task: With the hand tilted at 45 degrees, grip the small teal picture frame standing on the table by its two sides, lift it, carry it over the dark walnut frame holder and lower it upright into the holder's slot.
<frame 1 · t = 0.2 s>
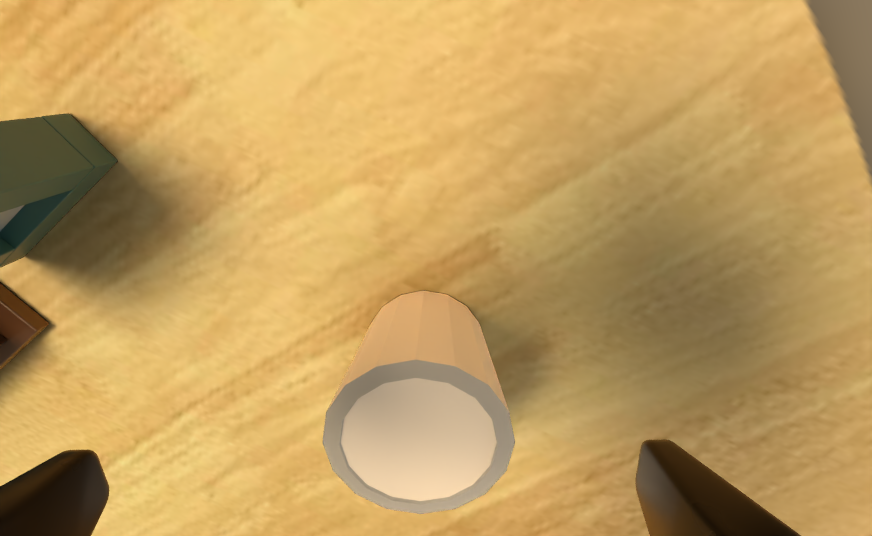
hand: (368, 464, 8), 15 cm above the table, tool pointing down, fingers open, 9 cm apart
beige cup: (425, 341, 24), on the table
picture frame: (45, 189, 21), on the table
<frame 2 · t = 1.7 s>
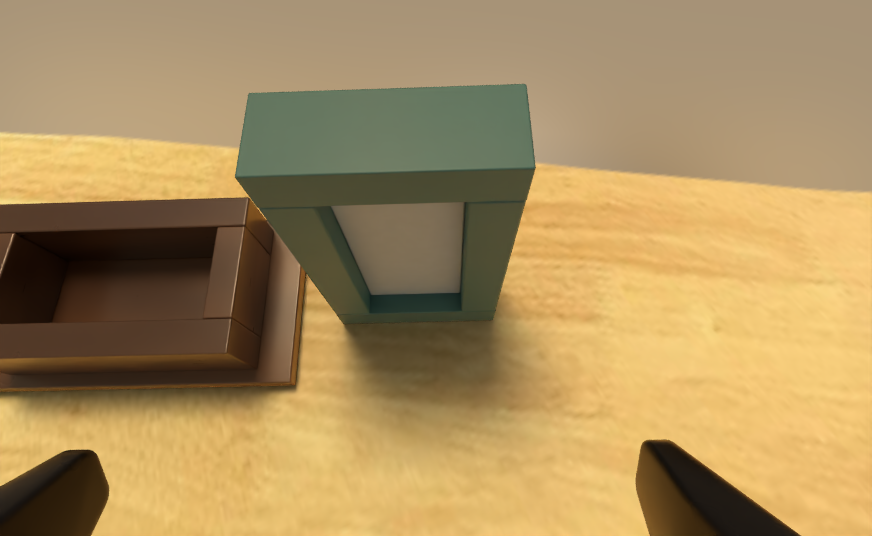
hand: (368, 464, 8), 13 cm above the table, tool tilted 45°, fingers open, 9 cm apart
frame holder: (158, 304, 24), on the table
picture frame: (417, 296, 23), on the table
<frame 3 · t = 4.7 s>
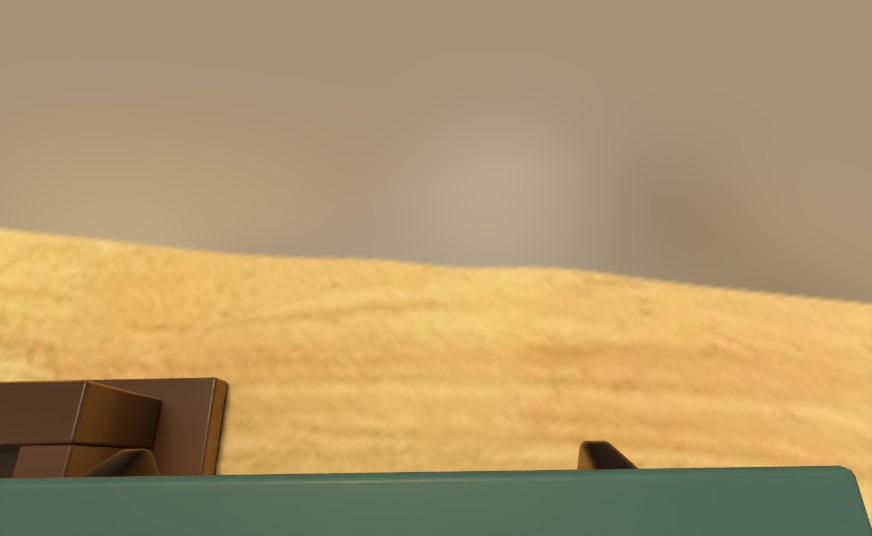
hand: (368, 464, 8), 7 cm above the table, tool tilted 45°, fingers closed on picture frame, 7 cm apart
picture frame: (401, 521, 14), on the table, touching gripper
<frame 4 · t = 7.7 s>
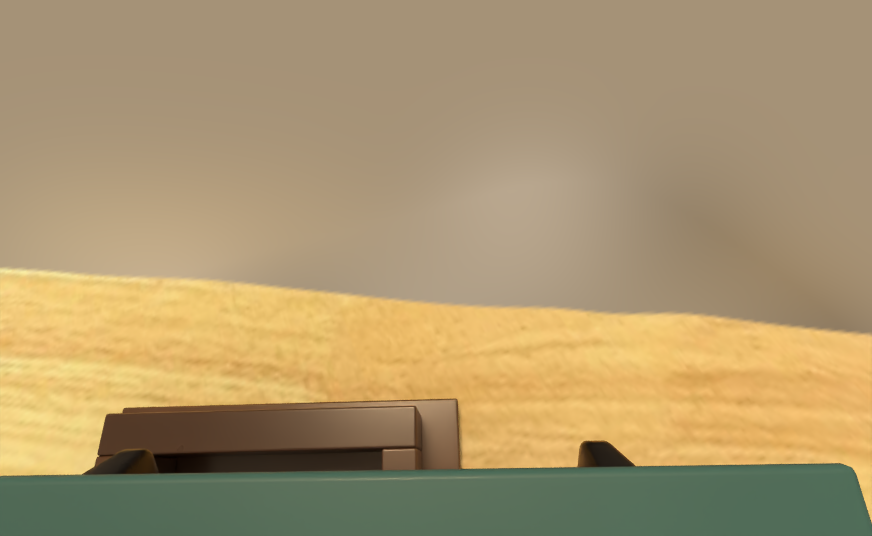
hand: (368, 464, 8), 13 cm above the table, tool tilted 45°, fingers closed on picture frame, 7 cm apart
frame holder: (286, 508, 20), on the table
picture frame: (402, 520, 14), point 6 cm above the table, touching gripper
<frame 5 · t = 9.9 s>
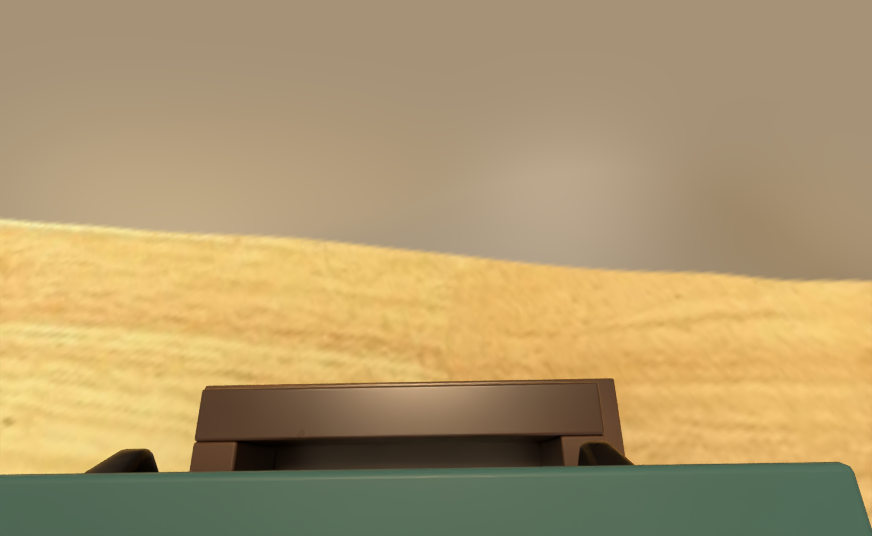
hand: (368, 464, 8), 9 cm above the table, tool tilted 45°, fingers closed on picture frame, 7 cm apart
frame holder: (408, 510, 16), on the table
picture frame: (401, 520, 14), point 2 cm above the table, touching gripper
when the fingers open (7 cm above the table, at t = 11.1 s): picture frame stays where it is, resting on frame holder.
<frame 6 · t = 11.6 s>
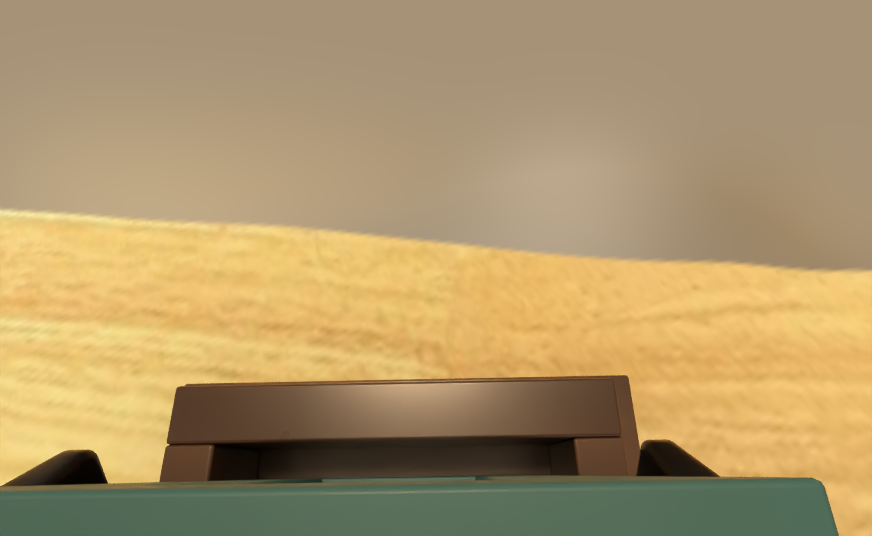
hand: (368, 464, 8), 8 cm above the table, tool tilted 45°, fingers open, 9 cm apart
frame holder: (405, 519, 15), on the table
picture frame: (403, 525, 14), point 1 cm above the table, touching frame holder
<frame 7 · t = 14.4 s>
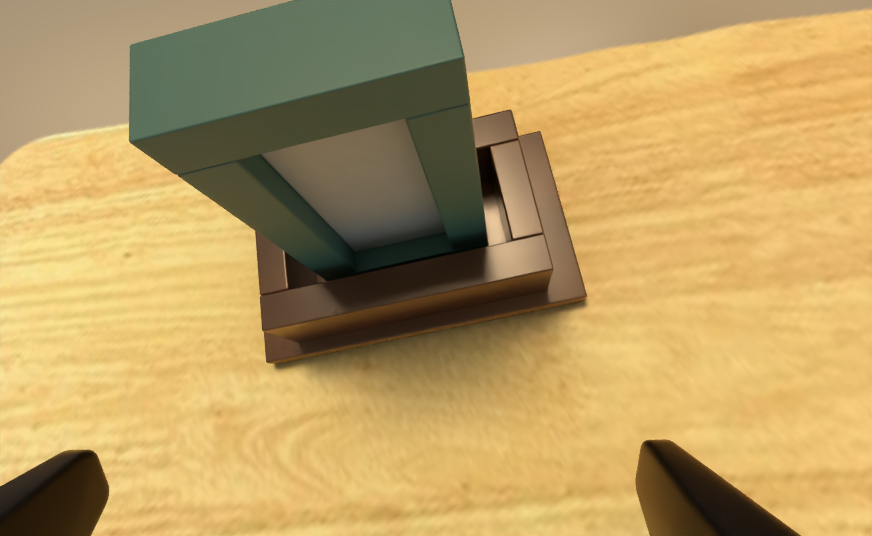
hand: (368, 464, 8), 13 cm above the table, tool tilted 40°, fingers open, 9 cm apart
frame holder: (410, 249, 23), on the table
picture frame: (407, 245, 22), point 1 cm above the table, touching frame holder
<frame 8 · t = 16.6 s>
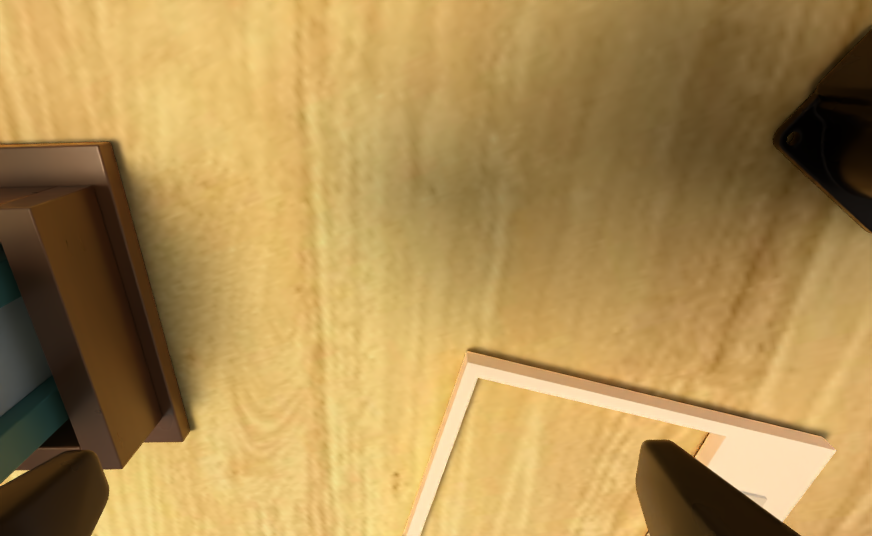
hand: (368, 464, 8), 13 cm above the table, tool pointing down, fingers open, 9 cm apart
frame holder: (66, 306, 22), on the table
picture frame: (55, 314, 21), point 1 cm above the table, touching frame holder
photo frame: (590, 502, 26), on the table
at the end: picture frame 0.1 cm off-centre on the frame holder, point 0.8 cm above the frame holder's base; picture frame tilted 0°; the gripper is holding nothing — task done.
